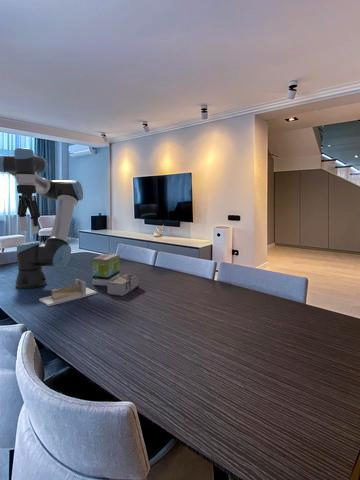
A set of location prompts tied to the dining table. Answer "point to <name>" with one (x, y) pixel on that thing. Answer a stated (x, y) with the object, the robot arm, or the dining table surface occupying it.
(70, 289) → the scraper
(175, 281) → the dining table surface
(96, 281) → the tea box
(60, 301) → the cutting board
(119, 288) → the coffee box
